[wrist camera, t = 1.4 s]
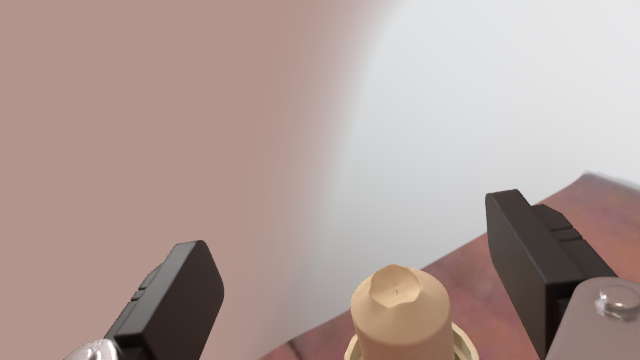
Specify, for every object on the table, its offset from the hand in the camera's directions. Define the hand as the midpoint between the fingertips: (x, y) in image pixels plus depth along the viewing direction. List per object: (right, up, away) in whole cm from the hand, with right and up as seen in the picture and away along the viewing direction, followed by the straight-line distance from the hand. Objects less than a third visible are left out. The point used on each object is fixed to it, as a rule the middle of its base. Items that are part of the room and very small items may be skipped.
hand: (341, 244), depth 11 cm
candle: (+6, -12, +16) cm, 21 cm away
